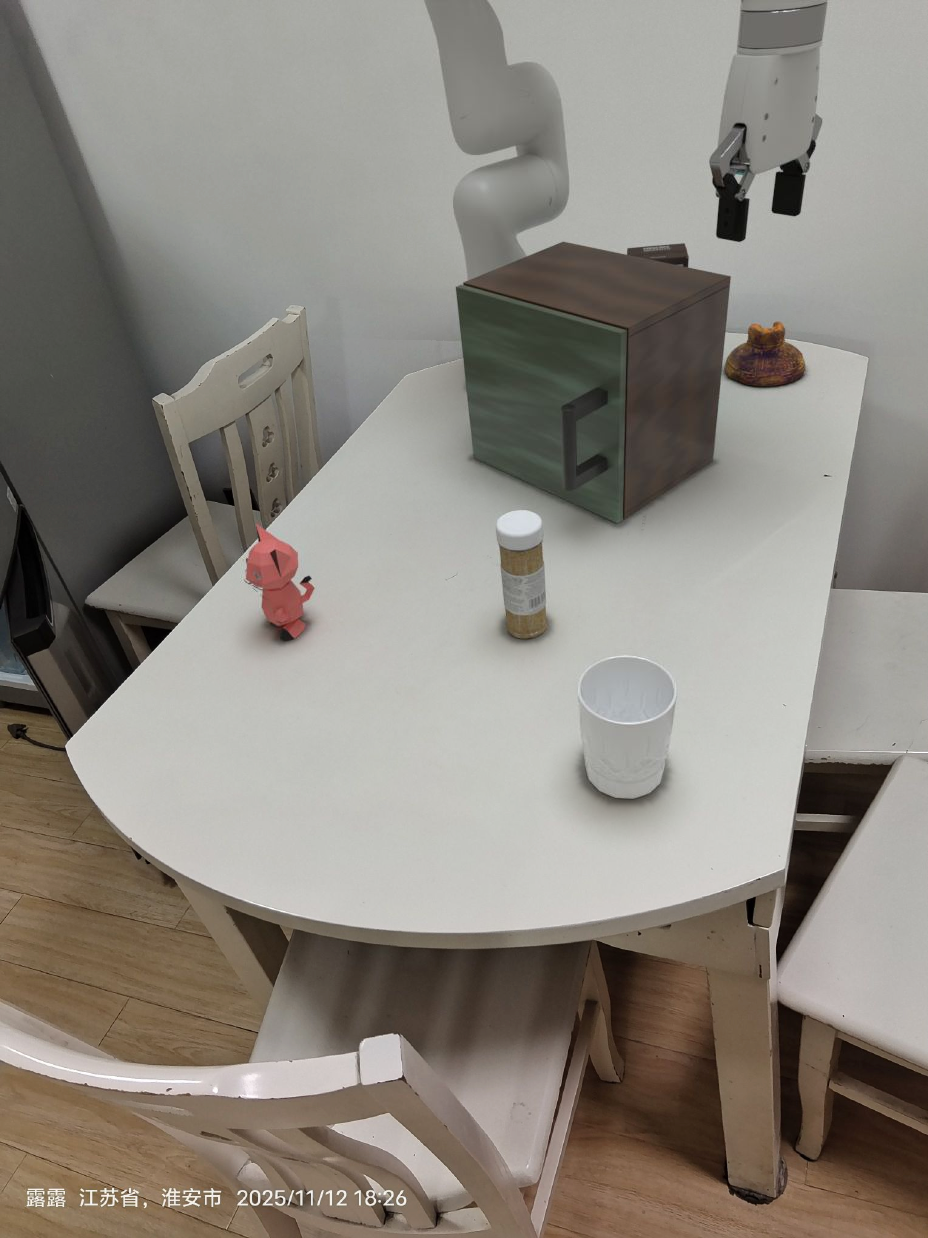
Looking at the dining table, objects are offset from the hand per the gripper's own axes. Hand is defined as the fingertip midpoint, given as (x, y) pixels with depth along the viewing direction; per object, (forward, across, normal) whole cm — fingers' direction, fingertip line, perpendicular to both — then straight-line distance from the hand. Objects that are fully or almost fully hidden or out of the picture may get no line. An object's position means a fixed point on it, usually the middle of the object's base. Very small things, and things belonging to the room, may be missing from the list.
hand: (758, 226), depth 90 cm
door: (+30, +20, -17) cm, 40 cm away
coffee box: (+31, -25, -33) cm, 51 cm away
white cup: (+31, +45, +22) cm, 59 cm away
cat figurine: (+31, +55, -18) cm, 66 cm away
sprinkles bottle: (+31, +38, +1) cm, 49 cm away
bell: (+31, -29, -15) cm, 45 cm away
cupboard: (+31, +7, -17) cm, 36 cm away
